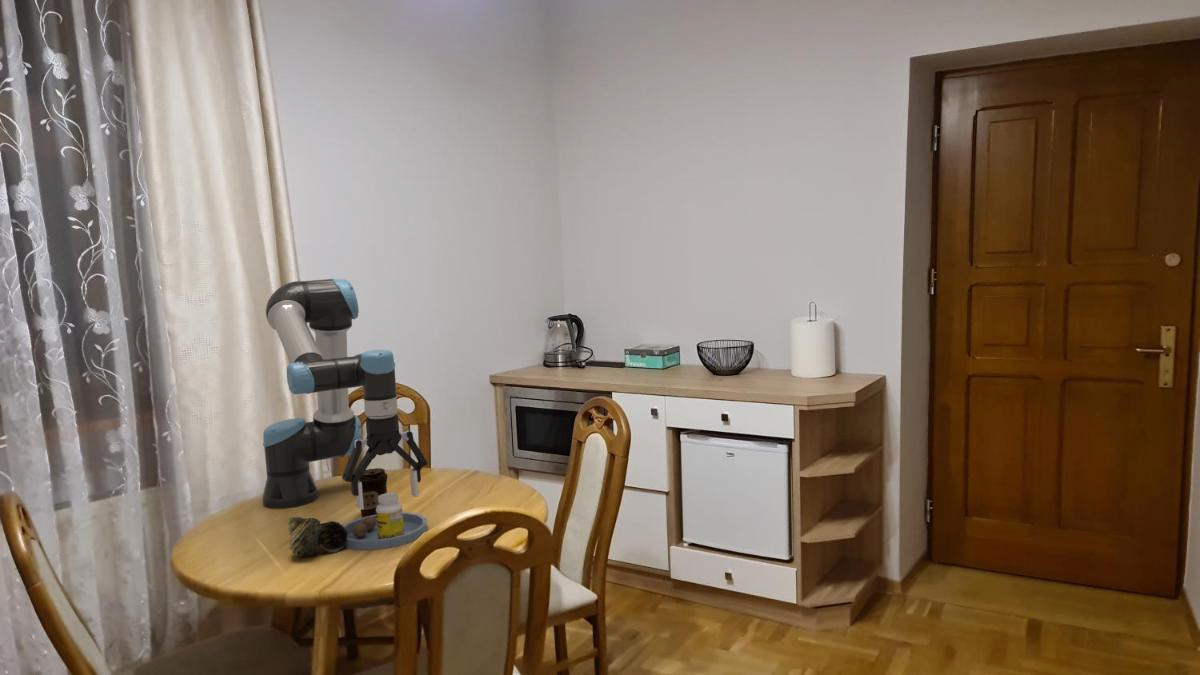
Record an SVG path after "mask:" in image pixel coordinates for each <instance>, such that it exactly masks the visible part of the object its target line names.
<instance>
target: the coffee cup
mask: <svg viewBox="0 0 1200 675" xmlns="http://www.w3.org/2000/svg"><path fill="white" fill-rule="evenodd" d="M385 471H386V470H385V469H384V468H380V467H379V468H378V467H376V468H375V467H374V468H367V469H366V470H365V472H364V473H363V475H362V476H361V478H360V479H359V481H360V482H362V493H363V506H364V509H362V510H360V513H361V518H363V517H367V516H371V515H376V508H377V506H378V505H379V502H378V496H380V495H382V494H385V493H388V489H387V485H388V484H387V483H388V474H387V473H386V472H385Z"/></svg>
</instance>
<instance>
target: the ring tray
mask: <svg viewBox="0 0 1200 675" xmlns="http://www.w3.org/2000/svg"><path fill="white" fill-rule="evenodd" d="M367 517H373V518H374V519H375V521H376V526H375V528H374V529H373V530H371V531H367V533H366V535H365V536H363V537H361V538H359V537H356V536H355V535H354V534H353V527H354V526H355V525H356V524H358V523H362V521H363V519H364V518H366V517H363V518H362V517H359V518H357V519H354V520H352V521H350V522H347V523H346V524H344V525H343V526H344V528H345V529H346V530H347V533H348V534H347V542H346V544H345V546H344V547H343V548H347V549H351V550H356V551H375V550H376V551H377V550H385V549H391V548H395V547H401V546H403V545H407V544H409V543H411V542H414V541H416V540H418V538H419V537H420V536H421V535H422V534H423V533H424V532H426V531H427V532H428V520H427V519H428V518H427V517H425V516H423V515H422V514H420V513H414V512H408V511H407V512H405V511H403V523H404V535H400V536H396V537H392V538H387V539H378V532H377V519H376V515H371V516H367ZM427 532H426V533H427ZM419 539H420V538H419Z"/></svg>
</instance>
